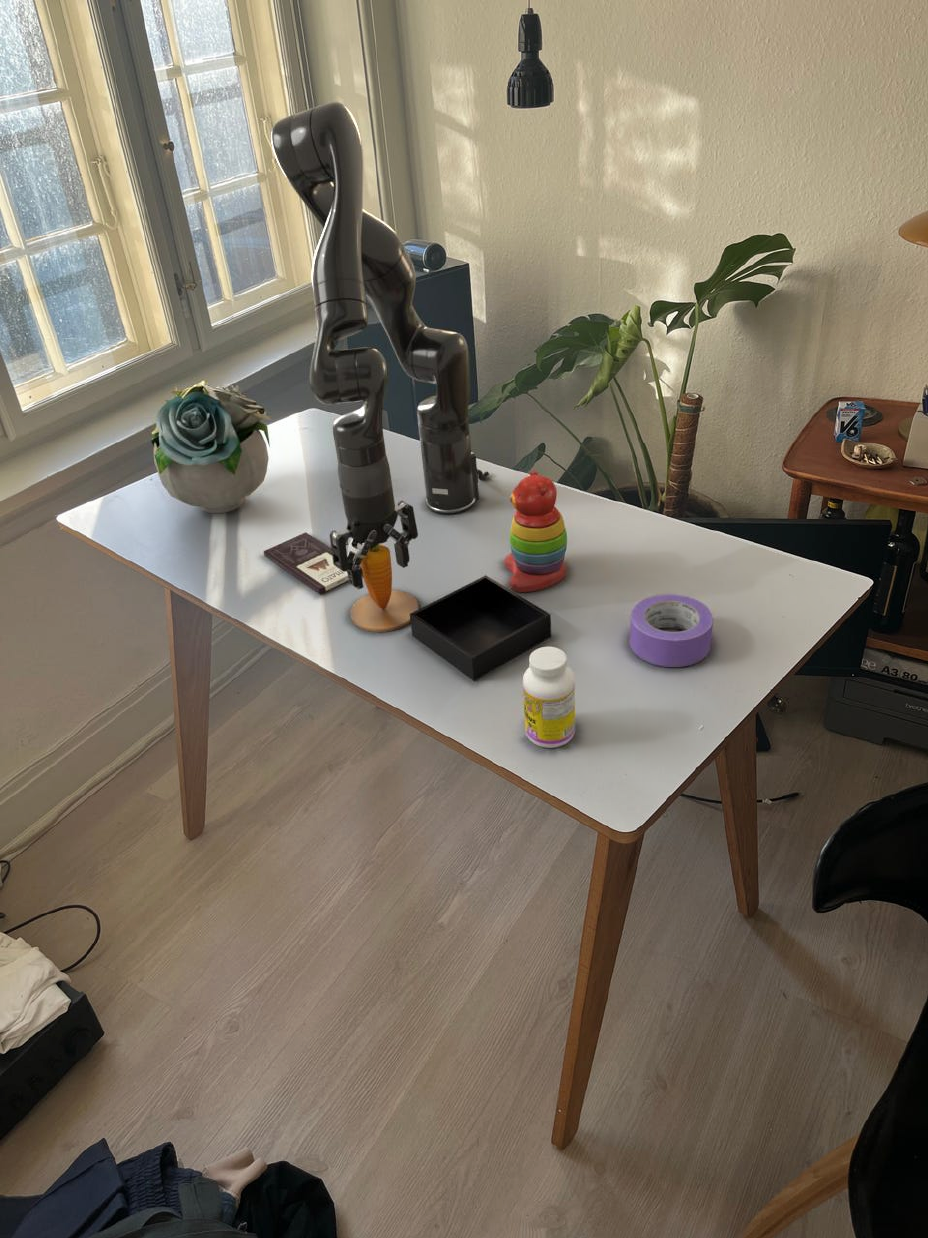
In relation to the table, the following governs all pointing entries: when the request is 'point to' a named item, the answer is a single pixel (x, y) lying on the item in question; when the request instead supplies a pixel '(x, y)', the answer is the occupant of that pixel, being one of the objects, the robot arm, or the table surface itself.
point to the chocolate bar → (308, 562)
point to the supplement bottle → (549, 698)
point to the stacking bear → (536, 536)
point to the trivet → (384, 612)
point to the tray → (480, 626)
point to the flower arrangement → (211, 447)
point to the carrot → (378, 574)
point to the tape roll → (671, 645)
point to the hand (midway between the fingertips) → (380, 575)
